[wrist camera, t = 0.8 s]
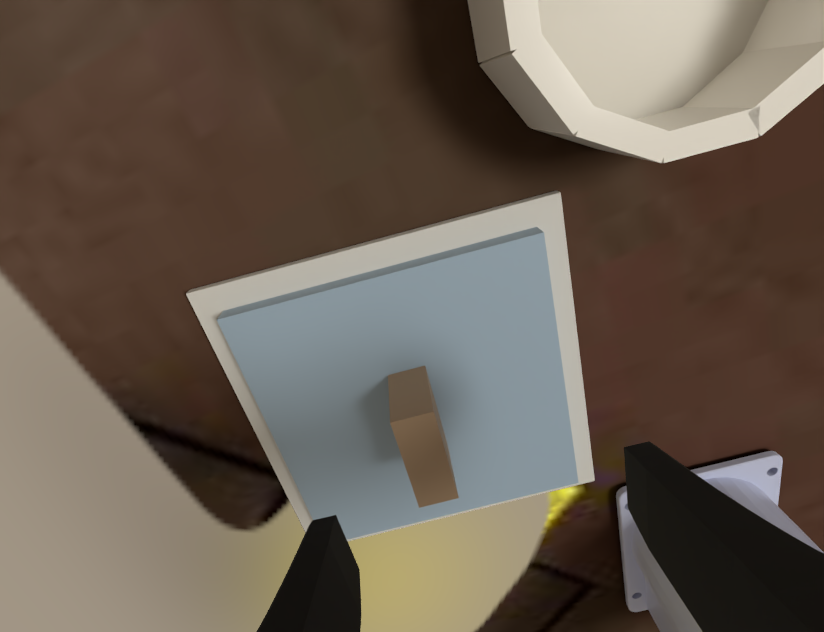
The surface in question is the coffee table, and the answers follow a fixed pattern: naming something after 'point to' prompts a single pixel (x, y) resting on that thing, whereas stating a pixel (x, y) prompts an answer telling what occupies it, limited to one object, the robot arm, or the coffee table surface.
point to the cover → (414, 384)
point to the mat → (391, 252)
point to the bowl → (651, 68)
